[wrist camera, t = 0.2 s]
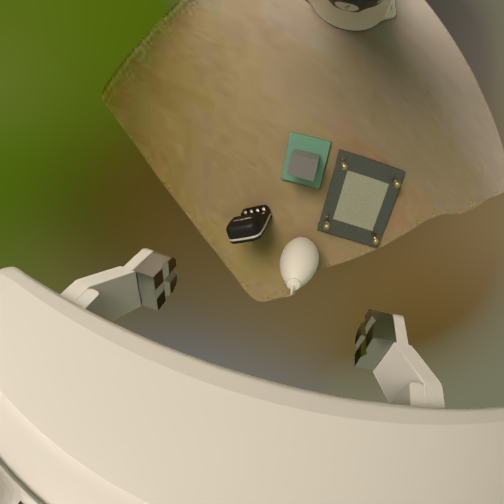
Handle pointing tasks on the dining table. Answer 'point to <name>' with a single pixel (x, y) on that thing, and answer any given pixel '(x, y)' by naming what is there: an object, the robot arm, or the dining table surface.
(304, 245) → the white air blower bulb
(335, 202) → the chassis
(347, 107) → the dining table surface
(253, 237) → the battery charger
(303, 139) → the board
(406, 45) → the dining table surface
